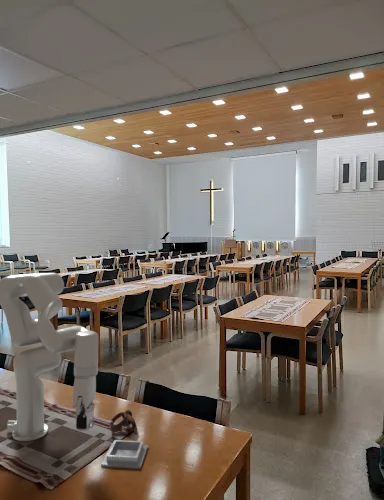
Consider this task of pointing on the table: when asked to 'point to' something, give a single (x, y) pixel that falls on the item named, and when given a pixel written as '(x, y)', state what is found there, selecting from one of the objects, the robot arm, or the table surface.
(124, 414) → the pottery mug
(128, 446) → the duct collar
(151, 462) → the table surface
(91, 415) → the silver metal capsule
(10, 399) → the table surface
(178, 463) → the table surface
